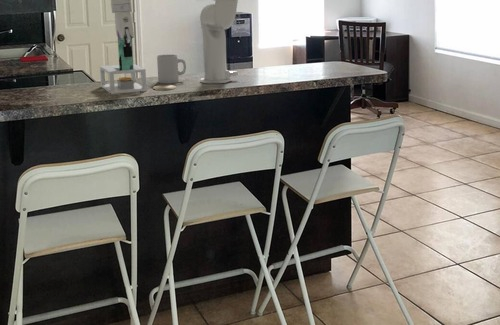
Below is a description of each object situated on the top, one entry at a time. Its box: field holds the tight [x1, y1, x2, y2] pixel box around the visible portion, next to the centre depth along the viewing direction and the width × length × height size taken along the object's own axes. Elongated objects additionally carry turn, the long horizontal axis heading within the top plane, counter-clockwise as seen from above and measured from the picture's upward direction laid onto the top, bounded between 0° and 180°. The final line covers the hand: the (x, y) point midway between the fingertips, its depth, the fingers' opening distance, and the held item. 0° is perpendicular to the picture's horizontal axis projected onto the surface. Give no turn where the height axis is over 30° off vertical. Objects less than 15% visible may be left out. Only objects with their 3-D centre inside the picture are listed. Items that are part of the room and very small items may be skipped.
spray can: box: [116, 29, 134, 71], centre depth 269 cm, size 6×6×20 cm
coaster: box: [152, 84, 177, 91], centre depth 277 cm, size 9×9×1 cm
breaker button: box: [118, 76, 132, 81], centre depth 273 cm, size 5×5×4 cm
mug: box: [156, 54, 187, 84], centre depth 292 cm, size 12×8×11 cm
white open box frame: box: [99, 63, 148, 95], centre depth 276 cm, size 14×18×8 cm
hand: (126, 55), depth 270 cm, fingers closed on spray can, 5 cm apart
